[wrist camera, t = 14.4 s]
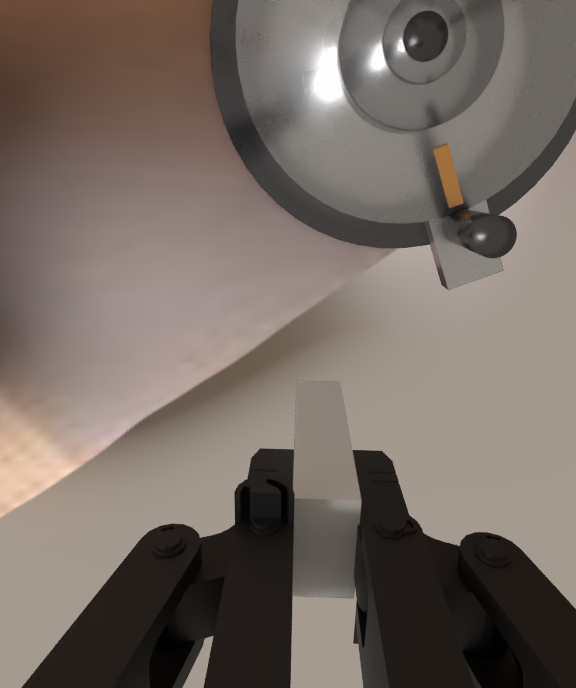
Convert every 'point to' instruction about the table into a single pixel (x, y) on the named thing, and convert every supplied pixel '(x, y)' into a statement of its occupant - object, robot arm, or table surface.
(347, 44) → the cover
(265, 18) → the turntable
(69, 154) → the table surface
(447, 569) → the robot arm
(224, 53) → the turntable base
